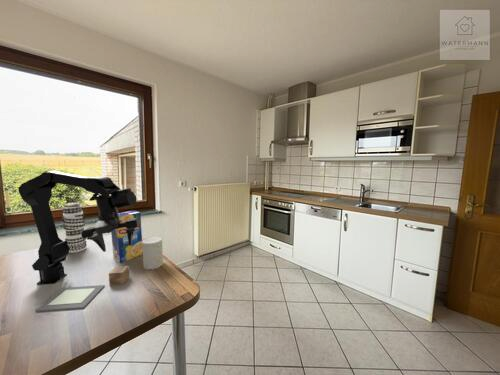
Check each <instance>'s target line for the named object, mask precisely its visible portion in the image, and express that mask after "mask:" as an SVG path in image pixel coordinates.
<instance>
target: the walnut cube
mask: <svg viewBox="0 0 500 375" xmlns="http://www.w3.org/2000/svg"><path fill="white" fill-rule="evenodd" d="M129 268H130V267H129V266H128V265H124V266H114V267H113V269H112V270H110V272H108V281H109V282H108V283H109V286H119V285H121V286H123V285H125V283H126V282H127V281H128V280H129V278H130V271H129Z"/></svg>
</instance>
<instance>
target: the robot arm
mask: <svg viewBox="0 0 500 375" xmlns="http://www.w3.org/2000/svg"><path fill="white" fill-rule="evenodd" d="M58 184H60V185H66V186H71V187H78V188H81V189H83V190H85V191H87V192H89V193H92V196H91V197H90V198H89V201H93V202H94V201H95V202H96V205H97V209H98V213H99V214H98V215H97V216H98V217H97V218H98V221H96V223H95V225H94V226H89V227H87V228H84V230H83V231H82V233H81V236H82V239H84V238H86V241H93V242H94V243H95V244H97V246H98V247H99V249H100V250H101V251H102V252H104V253H105V252H106V251H107V250H106V249H107V248H106V244H105V239H104V235H103V234H110V233H111V232H112V231H113V230H114V229H118V228H123V227H126V228H127V230H126V232H127V236H128V242H129V245H130V246H131V245H132V239H133V234H134V230H135V228H137V227H138V226H139V225H140V224H141V225H142V221H141V222H140V219H139V218H138V217H137V218H133V219H128V220H127V221H126V222H124V223H121V220H120V219H119V215H118V213H120V211H119V209H122V208H129V207H132V206H133V207H134V206H135V205H137V196H136V195H135V193H134V191H132V189H131V187H130V188H124V189H121V188H120V187H119V186H118V185H117V184H115V182H114V181H113V180H112V178H111V177H109V176H83V175H79V174H74V173H73V174H72V173H68V172H67V173H66V172H61V171H59V170H46V171H44V172H42V173H40V174H39V175H38V176H35V177H33V178H32V179H31V178H30V179H29V180H27V181H25V182H22V183H21V184H20V186H19V187H18V193H19V195H20V197H21V199H22V201H23V202H25V203H26V204H27V205H28V206H30V208H31V211H32V212H31V213H32V215H33V218H34V221H35V225H36V226H35V227H36V229H37V233H38V235H39V239H40V243H41V244H40V245H39V248H38V250H37V253H38V254H37V255H38V258H37V259H36V260H35V262H33V264H32V265H31V267H32V270H33V271H38V273H39V281H38V282H36V285H49V284H51V285H52V284H56V283H58V282H59V281H60V280H62V279H63V278H64V277H66V276H67V274H68V273H65V268H64V265H63V262H65V261H66V259H67V256H68V255H69V254H70V253H69V250H70V248H69V247H68V242H67V241H66V240H62V239H61V238H60V237H59V234H58V231H57V228H56V224H55V223H56V222H55V220H54V216H53V213H52V210H51V206H50V201H51V199H52V196H53V193H52V190H53V189H54V188H55V187H57V185H58Z"/></svg>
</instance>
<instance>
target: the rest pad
mask: <svg viewBox="0 0 500 375" xmlns="http://www.w3.org/2000/svg"><path fill="white" fill-rule="evenodd" d="M105 287H106V286H105V284H100V285H85V286H84V285H83V286H82V285H80V286H69V287H63V288H62V289H60V290H59V291H58V292H56V293H55V294H54V295H52V296H51V297H50V298H49V299H48V300H46V301H45V302H44V303H43V304H42V305H40V306H39V307H38V308H37V309H35V311H34V312H35V313H38V312H53V311H65V310H66V311H68V310H79V309H85V308H86V307H87V306H88V304H90V302H91V301H92V300H94V298H95V297H96V296H97V295H98V294H99V293H100V292H101V291H102V290H103V289H104V288H105Z"/></svg>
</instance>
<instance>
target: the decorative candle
mask: <svg viewBox="0 0 500 375" xmlns="http://www.w3.org/2000/svg"><path fill="white" fill-rule="evenodd" d="M82 207H83V204H81V203H79V202H69V203H66V204H64V205H63V206H62V212H63V213H62V215H63V216H62V217H61V219H62V226H63V230H64V231H65V238H64V241H67V242H68V247H69V248H70V250H69V254H71V253H72V254H74V253H79V252H82V251H84V250H86V249H87V248H88V247H87V241H88V240H87V238H84V239H82V236H81V233H82V231H83V230H85V222H86V221H85V217H84V216H85V214H84V211H83V208H82Z"/></svg>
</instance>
